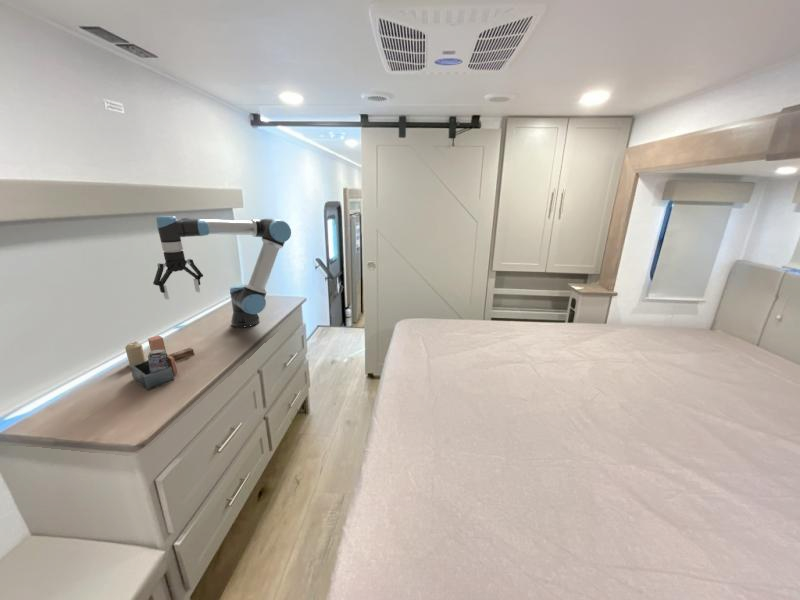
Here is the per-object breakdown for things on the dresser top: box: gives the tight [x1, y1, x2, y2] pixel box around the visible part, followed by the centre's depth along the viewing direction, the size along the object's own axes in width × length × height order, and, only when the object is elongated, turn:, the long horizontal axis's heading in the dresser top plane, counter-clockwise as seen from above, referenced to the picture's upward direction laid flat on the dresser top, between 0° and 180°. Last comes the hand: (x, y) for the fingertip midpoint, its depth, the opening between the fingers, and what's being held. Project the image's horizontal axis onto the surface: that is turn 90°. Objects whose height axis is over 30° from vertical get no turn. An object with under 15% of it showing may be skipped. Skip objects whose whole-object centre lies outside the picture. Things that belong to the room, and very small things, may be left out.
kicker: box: [147, 335, 178, 375], centre depth 132 cm, size 4×16×12 cm, turn 57°
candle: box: [125, 341, 147, 367], centre depth 136 cm, size 6×6×10 cm
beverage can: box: [147, 349, 168, 374], centre depth 126 cm, size 6×7×12 cm
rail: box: [168, 347, 195, 363], centre depth 140 cm, size 16×3×3 cm, turn 147°
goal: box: [129, 359, 175, 391], centre depth 125 cm, size 9×14×6 cm, turn 57°
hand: (183, 295), depth 148 cm, fingers open, 13 cm apart
